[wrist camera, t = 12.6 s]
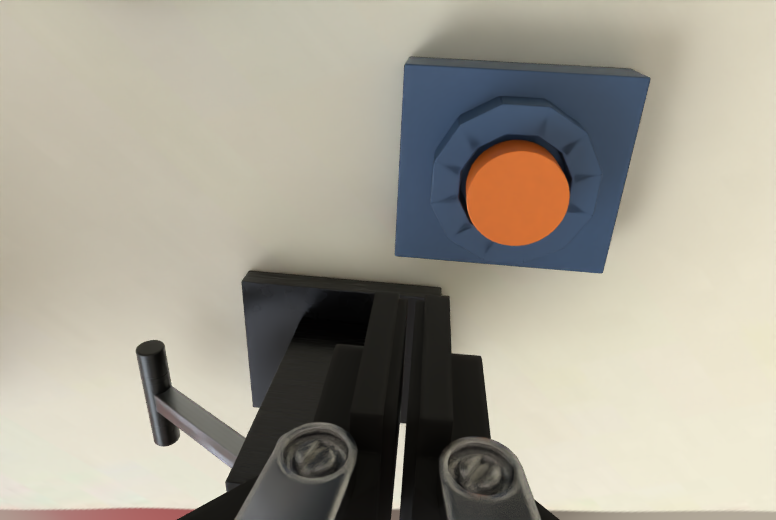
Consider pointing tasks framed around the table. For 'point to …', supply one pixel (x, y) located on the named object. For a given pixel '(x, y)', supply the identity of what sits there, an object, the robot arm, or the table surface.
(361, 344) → the lever bracket
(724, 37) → the table surface
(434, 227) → the control block
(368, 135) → the table surface
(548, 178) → the button
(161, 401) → the lever
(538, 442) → the table surface
